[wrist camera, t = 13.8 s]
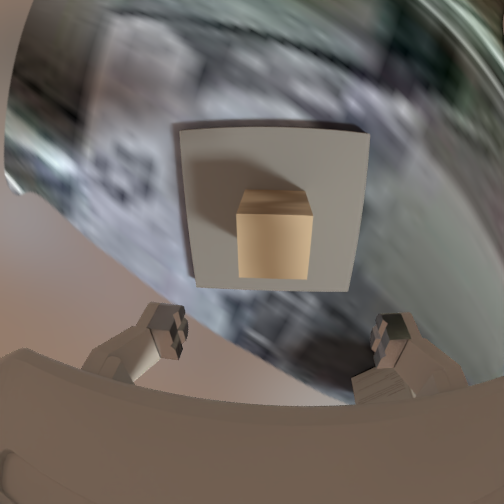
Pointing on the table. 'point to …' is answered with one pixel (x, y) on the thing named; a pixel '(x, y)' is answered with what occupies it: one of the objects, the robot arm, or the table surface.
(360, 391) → the supplement box
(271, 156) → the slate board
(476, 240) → the table surface
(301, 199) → the birch block
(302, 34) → the table surface
